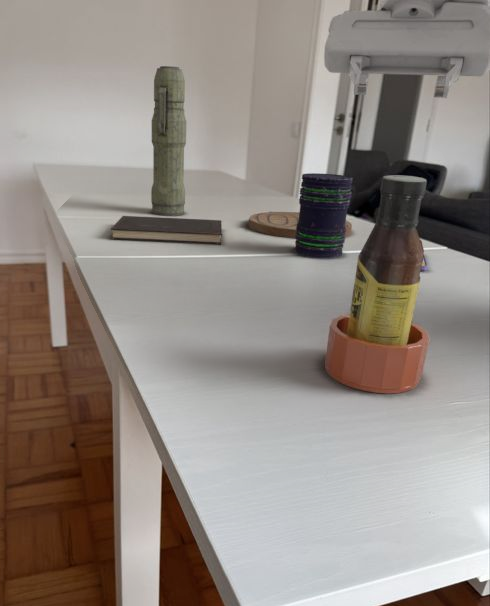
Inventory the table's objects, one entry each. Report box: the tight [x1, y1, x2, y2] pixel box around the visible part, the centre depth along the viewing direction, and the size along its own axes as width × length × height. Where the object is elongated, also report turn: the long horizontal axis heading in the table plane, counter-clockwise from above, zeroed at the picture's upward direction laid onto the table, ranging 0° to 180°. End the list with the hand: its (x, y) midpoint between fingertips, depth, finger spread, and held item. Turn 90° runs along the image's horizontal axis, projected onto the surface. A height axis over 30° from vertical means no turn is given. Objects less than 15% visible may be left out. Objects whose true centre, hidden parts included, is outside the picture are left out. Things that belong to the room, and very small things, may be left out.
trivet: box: [248, 211, 353, 239], centre depth 135 cm, size 25×25×2 cm
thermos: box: [150, 65, 187, 217], centre depth 141 cm, size 9×12×35 cm
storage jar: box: [294, 172, 354, 260], centre depth 109 cm, size 10×10×15 cm
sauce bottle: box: [347, 174, 428, 345], centre depth 55 cm, size 7×6×20 cm
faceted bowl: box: [324, 313, 430, 394], centre depth 59 cm, size 10×10×5 cm
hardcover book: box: [110, 215, 223, 245], centre depth 121 cm, size 16×23×2 cm
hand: (399, 92), depth 66 cm, fingers open, 8 cm apart
